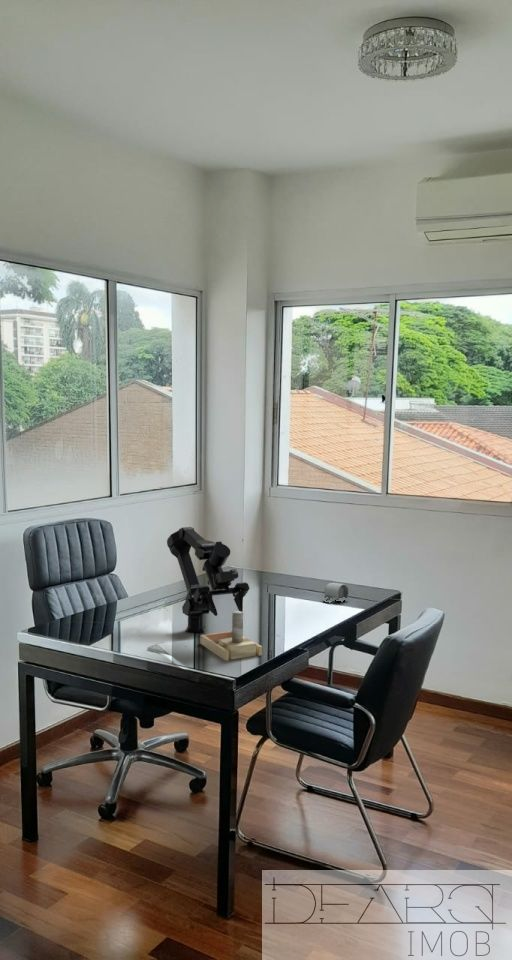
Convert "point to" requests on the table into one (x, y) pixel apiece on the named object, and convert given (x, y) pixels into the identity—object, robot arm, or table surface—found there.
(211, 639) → the frame
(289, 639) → the table surface
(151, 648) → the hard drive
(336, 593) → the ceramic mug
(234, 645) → the peg on wooden base
